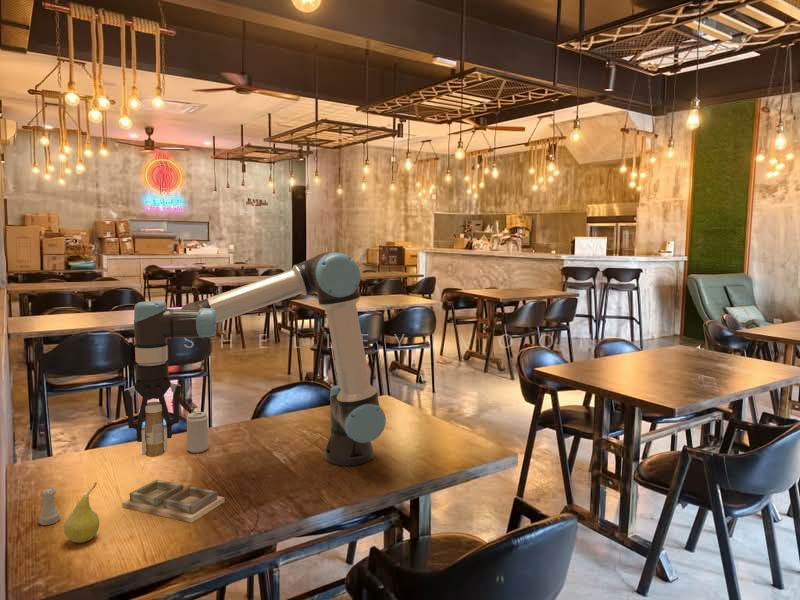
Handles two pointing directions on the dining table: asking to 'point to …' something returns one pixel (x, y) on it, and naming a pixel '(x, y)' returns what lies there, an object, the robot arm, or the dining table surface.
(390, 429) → the dining table surface
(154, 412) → the sprinkles bottle
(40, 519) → the rook chess piece
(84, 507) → the fruit
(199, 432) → the beverage can
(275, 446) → the dining table surface
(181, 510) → the board
